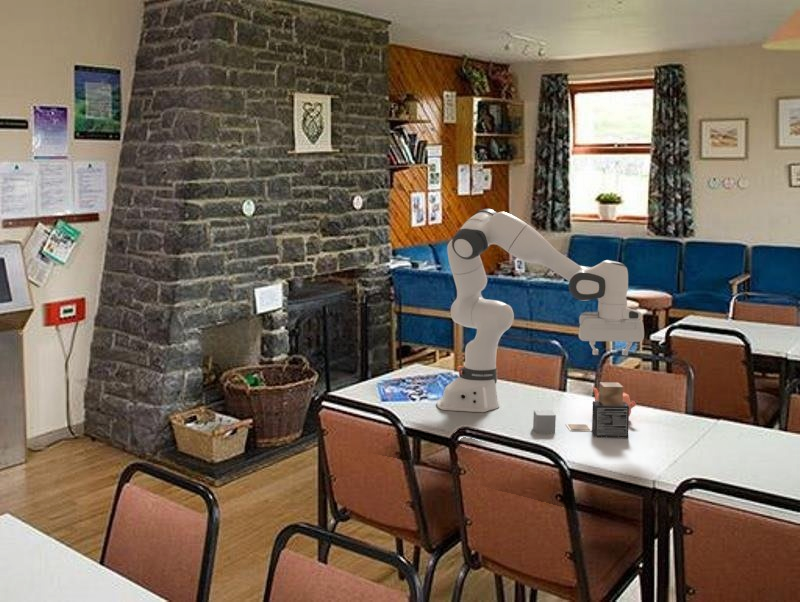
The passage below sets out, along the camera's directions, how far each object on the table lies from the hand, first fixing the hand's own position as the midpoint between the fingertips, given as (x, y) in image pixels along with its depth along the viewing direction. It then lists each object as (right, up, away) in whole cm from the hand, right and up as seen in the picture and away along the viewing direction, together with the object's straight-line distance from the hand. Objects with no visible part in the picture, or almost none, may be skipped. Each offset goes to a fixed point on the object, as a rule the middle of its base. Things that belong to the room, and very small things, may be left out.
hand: (610, 355), depth 256 cm
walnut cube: (0, -15, 0) cm, 15 cm away
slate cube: (-20, -25, +5) cm, 32 cm away
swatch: (-8, -25, +8) cm, 27 cm away
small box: (0, -26, +1) cm, 26 cm away
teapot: (+6, -23, +20) cm, 31 cm away
